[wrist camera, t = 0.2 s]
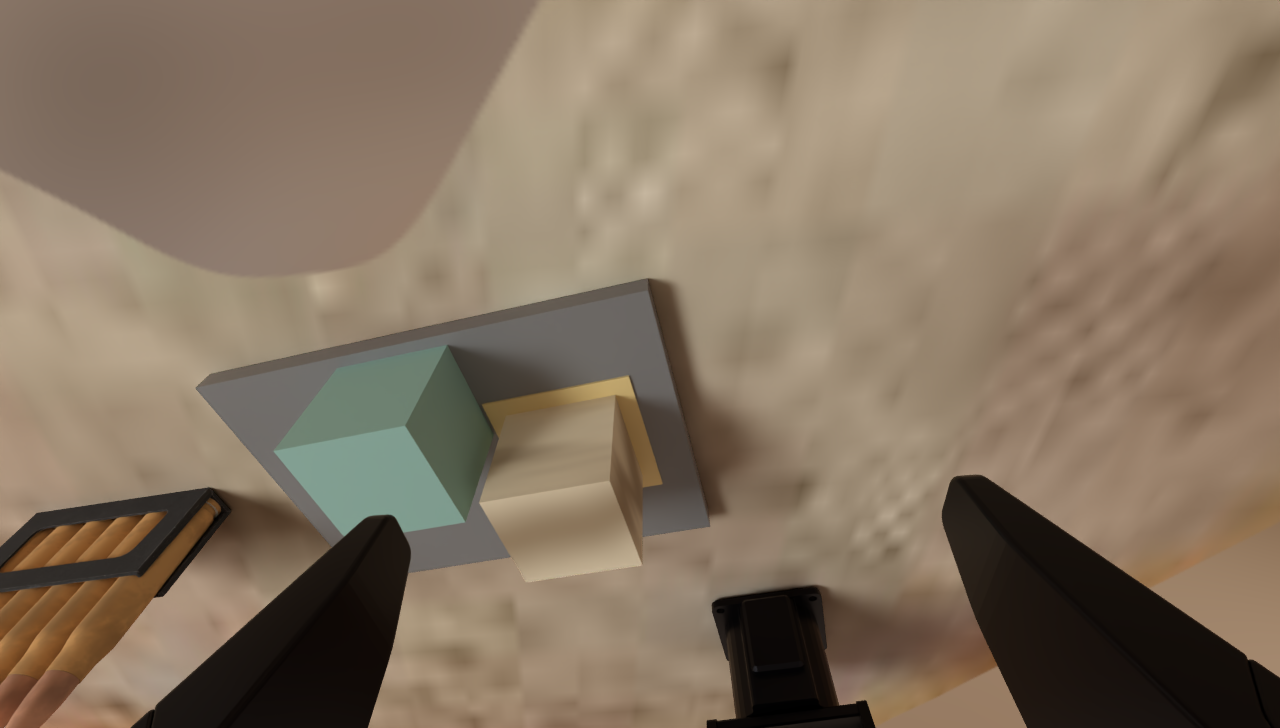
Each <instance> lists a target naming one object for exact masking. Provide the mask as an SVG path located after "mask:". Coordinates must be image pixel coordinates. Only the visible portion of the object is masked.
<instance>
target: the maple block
mask: <svg viewBox="0 0 1280 728" xmlns="http://www.w3.org/2000/svg"><path fill="white" fill-rule="evenodd" d="M479 504H480V505H481V507H482V509H483V510H484V512H485V514H486V515H487V517H488V519H489V521H490V522H491V524H492V526H493V527H494V529H495V531H496V532H497V534H498V536H499V537H500V539H501V541H502V543H503V544H504V546H505V548H506V549H507V551H508V553H509V554H510V556H511V558H512V560H513V561H514V563H515V565H516V566H517V568H518V570H519V571H520V573H521V575H522V576H523V578H524V580H525V582H533V581H540V580H547V579H554V578H560V577H567V576H574V575H581V574H588V573H594V572H601V571H608V570H615V569H622V568H628V567H635V566H642V535H643V475H642V472H641V469H640V466H639V463H638V460H637V457H636V454H635V451H634V449H633V446H632V443H631V440H630V437H629V434H628V431H627V428H626V425H625V422H624V419H623V416H622V413H621V410H620V407H619V404H618V401H617V398H616V395H612V396H607V397H602V398H596V399H591V400H586V401H581V402H575V403H570V404H565V405H560V406H555V407H549V408H544V409H539V410H534V411H528V412H523V413H518V414H513V415H507V416H506V417H505V421H504V424H503V427H502V430H501V433H500V437H499V440H498V443H497V446H496V450H495V453H494V456H493V459H492V463H491V466H490V469H489V472H488V476H487V479H486V482H485V485H484V488H483V492H482V495H481V498H480V501H479Z"/></svg>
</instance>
